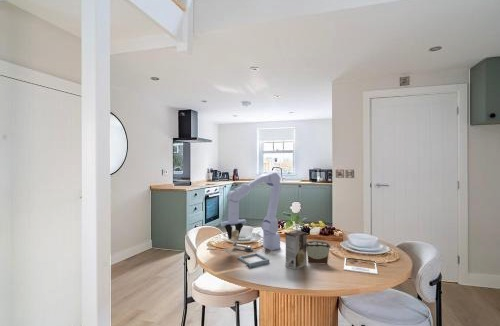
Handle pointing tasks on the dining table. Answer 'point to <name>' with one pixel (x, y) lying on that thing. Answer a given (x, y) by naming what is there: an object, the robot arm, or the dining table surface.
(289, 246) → the coffee box
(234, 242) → the crank lever
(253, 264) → the tray
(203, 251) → the dining table surface
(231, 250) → the board
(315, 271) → the dining table surface
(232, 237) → the block
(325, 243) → the food container
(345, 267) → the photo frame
